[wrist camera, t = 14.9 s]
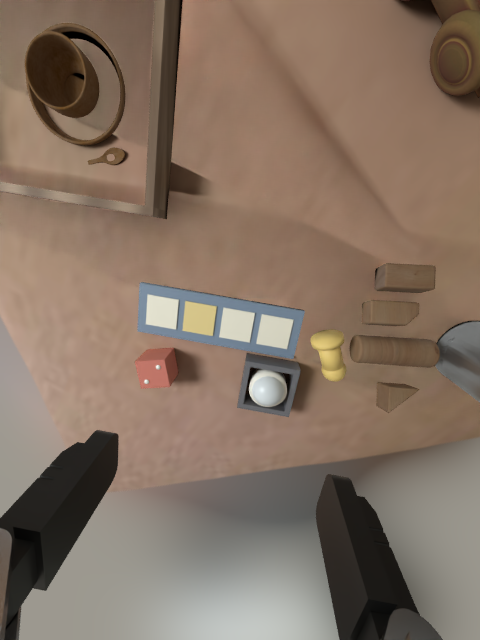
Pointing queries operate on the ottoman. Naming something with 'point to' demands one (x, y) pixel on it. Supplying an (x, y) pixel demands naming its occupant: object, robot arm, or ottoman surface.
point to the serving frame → (159, 123)
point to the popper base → (272, 365)
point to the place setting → (69, 81)
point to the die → (157, 368)
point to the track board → (219, 320)
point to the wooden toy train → (457, 47)
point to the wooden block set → (395, 315)
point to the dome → (267, 387)
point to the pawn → (330, 353)
